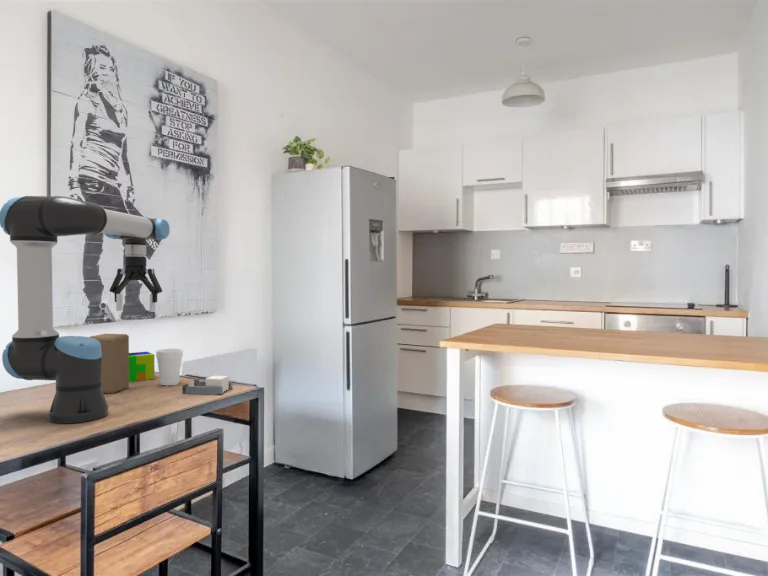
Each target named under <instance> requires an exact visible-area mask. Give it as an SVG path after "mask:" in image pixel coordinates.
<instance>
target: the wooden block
mask: <svg viewBox="0 0 768 576" xmlns="http://www.w3.org/2000/svg"><path fill="white" fill-rule="evenodd" d="M89 337H90V338H94V339H97V340H98V341H99V342H100V344H101V352H102V381H101V385H102V391H103V394H114V393H117V392H120V391H122V390H125V389H128V388H129V385H130V382H129V353H130V344H129V343H130V341H129V339H130V337H129V334H127V333H103V334H101V333H100V334H96V335H90V336H89Z"/></svg>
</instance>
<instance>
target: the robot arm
mask: <svg viewBox="0 0 768 576" xmlns="http://www.w3.org/2000/svg"><path fill="white" fill-rule="evenodd" d="M6 201H7V202H4V204H3V205H2V207H1V208H0V227H1V228H2V231H3V232H4V233H5V234H6V235H9V241H10V243H11V244H12V245H14V246H15V248H16V268H17V269H16V270H17V271H16V274H17V275H16V278H17V281H16V282H17V285H16V286H17V320H18V321H17V322H18V323H17V324H18V325H17V327H18V329H17V331H16V332H14V333H13V334H12V336H11V341H10V342H9V343H7V344H6V346H5V349H3V351H2V355H1V360H2V365H3V368H4V369H5V371H6V372H7V374H8V375H10V376H11V377H13V378H15V379H19V380H25V381H55V395H54V397H53V401H52V403H51V405H50V409H49V411H48V421H49V422H51V423H56V424H76V423H84V422H90V421H95V420H98V419H99V420H100V419H102V418H104V417H106V416H107V415H109V404H108V402H107V399H106V397H105V393H103V391H102V385H101V381H102V352H101V344H100V342H99V341H98V340H97V339H94V338H90V336H81V335H65V336H60V333H59V332H58V331H57V330H56V329H55V328H54V311H53V307H54V306H53V304H54V303H53V302H54V301H53V260H52V259H53V255H52V253H53V251H52V250H53V248H54V247H55V246H56V245H57V244H58V237H67V236H79V235H90V236H91V235H92V236H95V235H99V234H101V233H102V234H103V235H104V236H106V237H107V238H108V239H109V238H110V239H113V240H124V255H125V257H124V266H125V268H117V269H116V270H117V271H116V275H115V277H114V280H113V282H112V283H111V286H110V288H109V292H110V293H113V294H114V303H116V311H117V312H118V311H119V312H120V311H123V293H122V291H123V290H124V289H125V288H126V287H127V285H128V284H129V283H130V282H131V281H141V282H142V283H143V285H144V286H145V287H146V288H147V290H149V292H150V293H151V294H149V312H155V311H156V303H158V294H160V293H162V292H163V290H162V287H161V284H160V283H159V280H158V279H157V276H156V274H155V269H154V268H147V257H146V256H147V240H158V241H159V240H165V239H167V238H168V237H169V235H170V232H171V231H170V230H171V229H170V228H171V227H170V224H169V221H167V220H166V219H164V218H158V217H157V218H150V217H145V216H141V215H135V214H130V213H126V212H121V211H116V210H111V209H107V208H104V207H103V206H102V205H100V204H99V203H98V204H97V203H94V202H93V203H92V202H90V201H86V200H81V199H78V198H73V197H68V196H64V195H63V196H60V195H53V196H51V195H50V196H48V195H47V196H46V195H45V196H43V195H24V196H17V197H13V198H10V199H9V200H6ZM146 274H147V275H148V276H147V275H146ZM124 275H125V276H124ZM123 277H124V278H123ZM148 277H149V278H148Z"/></svg>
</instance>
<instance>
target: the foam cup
mask: <svg viewBox="0 0 768 576" xmlns="http://www.w3.org/2000/svg"><path fill="white" fill-rule="evenodd" d="M183 352H184V351H183V348H161V349H157V350H156V351H155V354H156V355H155V357H156V360H157V367H158V375H159V381H160V382H159V383H160V386H162V385H173V386H176V385H175V384H177V385H179V383H180V375H181V368H182V361H183V356H184V355H183V354H184V353H183Z"/></svg>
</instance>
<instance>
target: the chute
mask: <svg viewBox="0 0 768 576" xmlns="http://www.w3.org/2000/svg"><path fill="white" fill-rule="evenodd" d="M181 386H182V393H187V394H186V395H203V394H222V393H223V394H224V392H223V387H211V386H206V380H200V378H195V379H193V385H189V383H183V384H182V385H181ZM231 388H232V389H233V381H229V389H231ZM232 389H231V390H232ZM188 393H189V394H188ZM223 394H222V395H223Z"/></svg>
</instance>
